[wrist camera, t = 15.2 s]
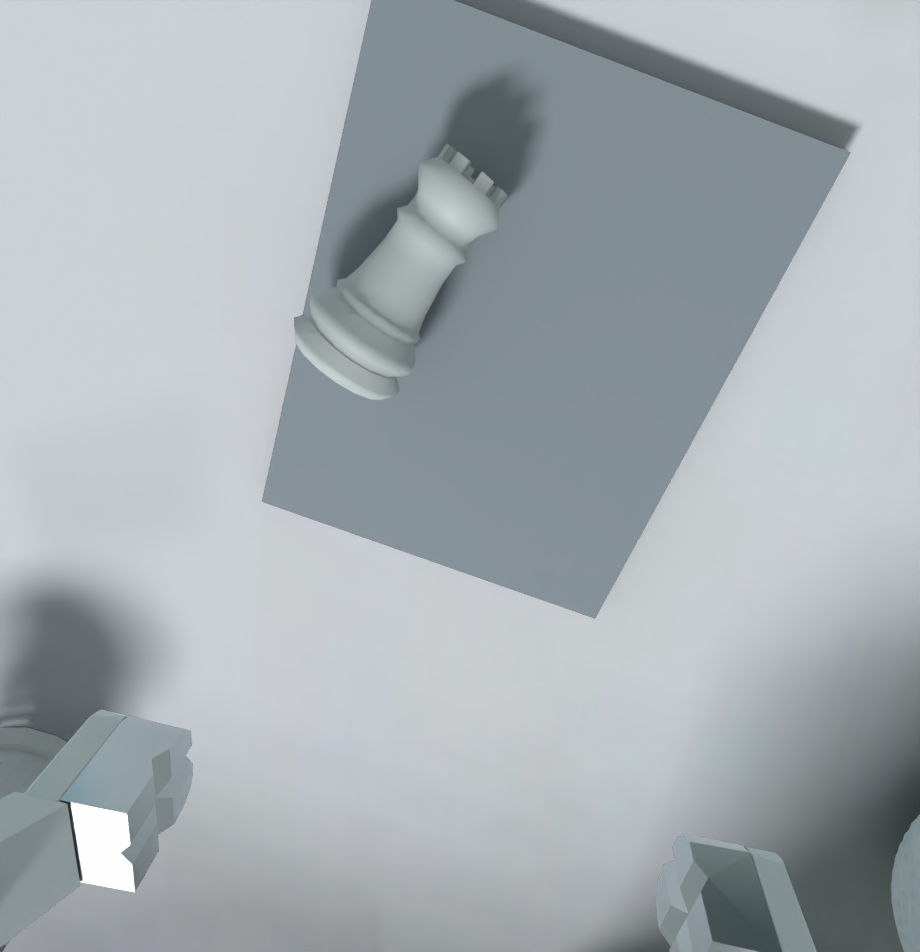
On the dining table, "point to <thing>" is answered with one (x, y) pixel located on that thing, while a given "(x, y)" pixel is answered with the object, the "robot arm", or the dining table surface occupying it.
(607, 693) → the dining table surface
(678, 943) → the robot arm
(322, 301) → the rook chess piece
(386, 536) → the mat
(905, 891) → the cereal bowl
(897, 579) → the dining table surface
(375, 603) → the dining table surface
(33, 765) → the french press
